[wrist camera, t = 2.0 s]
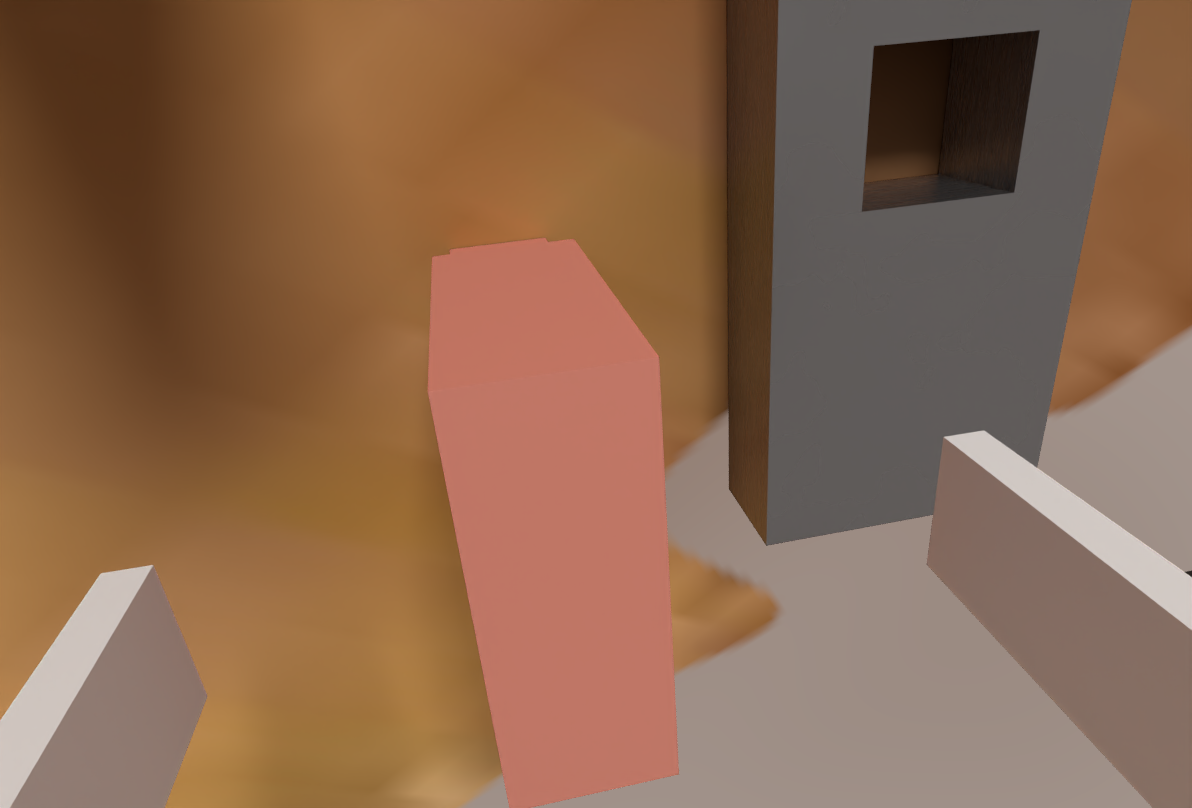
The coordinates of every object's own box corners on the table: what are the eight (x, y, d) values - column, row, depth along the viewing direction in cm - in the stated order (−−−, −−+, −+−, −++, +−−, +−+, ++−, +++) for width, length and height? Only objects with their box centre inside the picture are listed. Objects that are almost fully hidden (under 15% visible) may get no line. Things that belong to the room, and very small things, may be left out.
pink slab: (481, 502, 22) (509, 812, 13) (433, 226, 18) (427, 391, 9) (583, 485, 22) (678, 773, 13) (554, 211, 19) (659, 356, 10)
